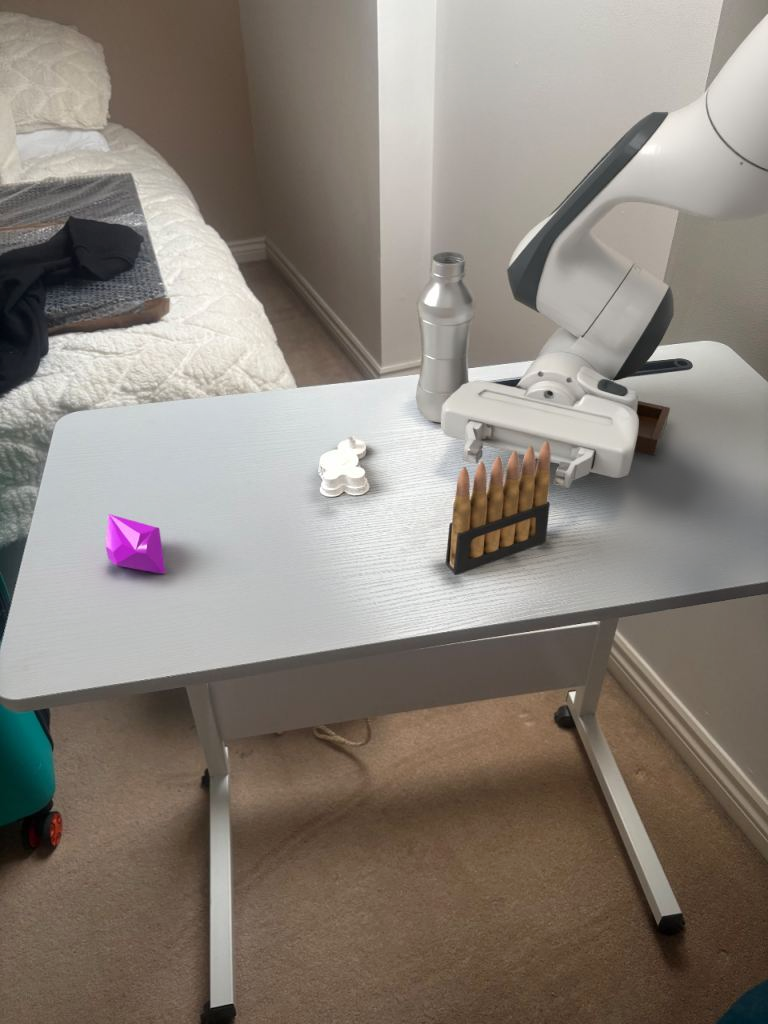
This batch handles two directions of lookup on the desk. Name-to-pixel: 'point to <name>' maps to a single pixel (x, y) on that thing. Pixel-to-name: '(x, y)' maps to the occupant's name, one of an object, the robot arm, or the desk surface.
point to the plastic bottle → (444, 333)
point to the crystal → (134, 545)
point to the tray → (650, 426)
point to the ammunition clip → (499, 511)
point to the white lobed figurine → (343, 469)
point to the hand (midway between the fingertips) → (514, 468)
